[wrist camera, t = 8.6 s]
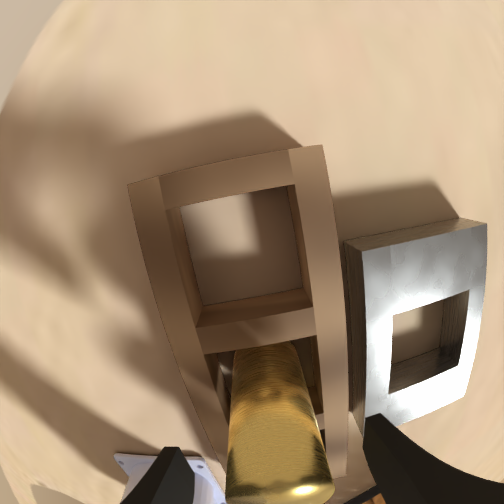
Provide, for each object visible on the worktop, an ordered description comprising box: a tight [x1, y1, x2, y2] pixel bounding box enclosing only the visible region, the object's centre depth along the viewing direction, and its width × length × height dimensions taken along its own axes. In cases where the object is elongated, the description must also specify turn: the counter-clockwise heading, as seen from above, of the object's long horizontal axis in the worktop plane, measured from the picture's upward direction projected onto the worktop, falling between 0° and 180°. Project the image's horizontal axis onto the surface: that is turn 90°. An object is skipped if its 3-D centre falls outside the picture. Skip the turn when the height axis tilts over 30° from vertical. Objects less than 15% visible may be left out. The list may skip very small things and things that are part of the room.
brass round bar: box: [225, 341, 335, 504], centre depth 11 cm, size 4×4×9 cm
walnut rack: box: [127, 145, 349, 479], centre depth 14 cm, size 21×8×2 cm, turn 11°
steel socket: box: [344, 218, 487, 437], centre depth 14 cm, size 12×8×2 cm, turn 11°
